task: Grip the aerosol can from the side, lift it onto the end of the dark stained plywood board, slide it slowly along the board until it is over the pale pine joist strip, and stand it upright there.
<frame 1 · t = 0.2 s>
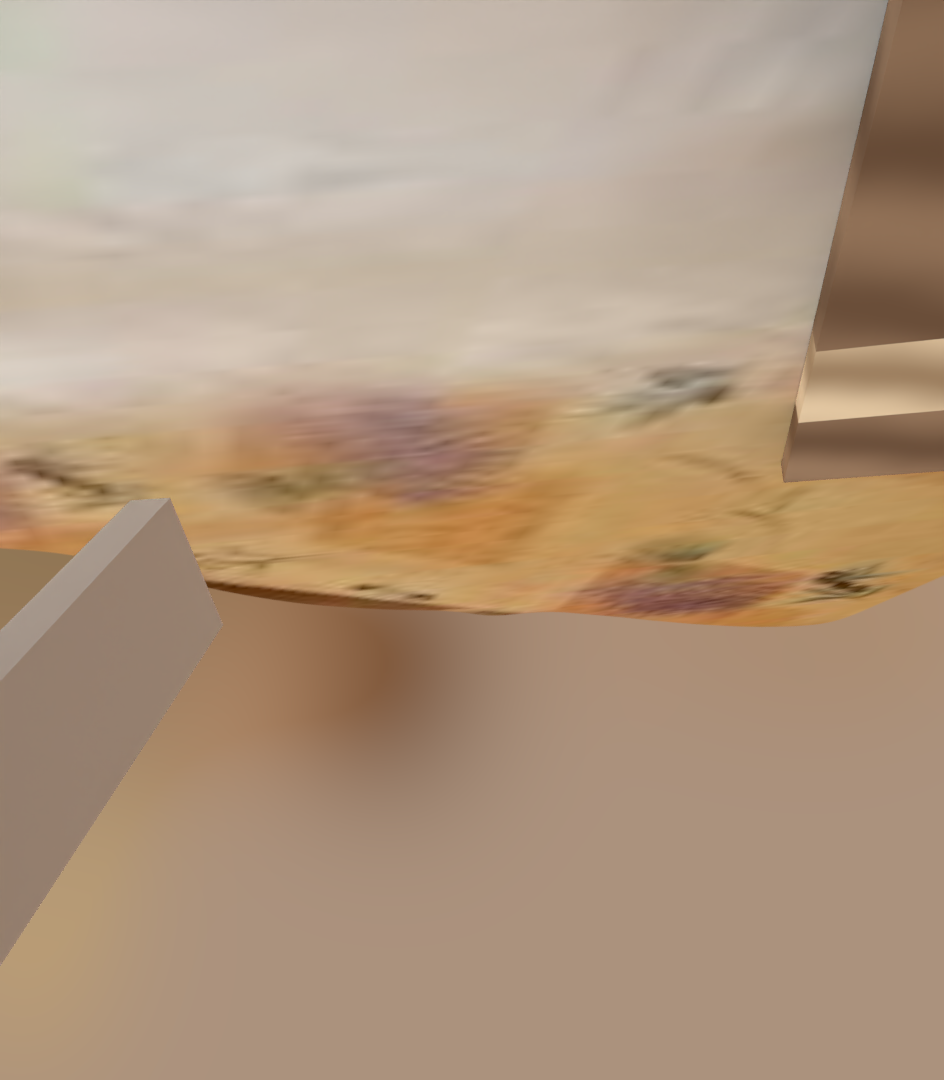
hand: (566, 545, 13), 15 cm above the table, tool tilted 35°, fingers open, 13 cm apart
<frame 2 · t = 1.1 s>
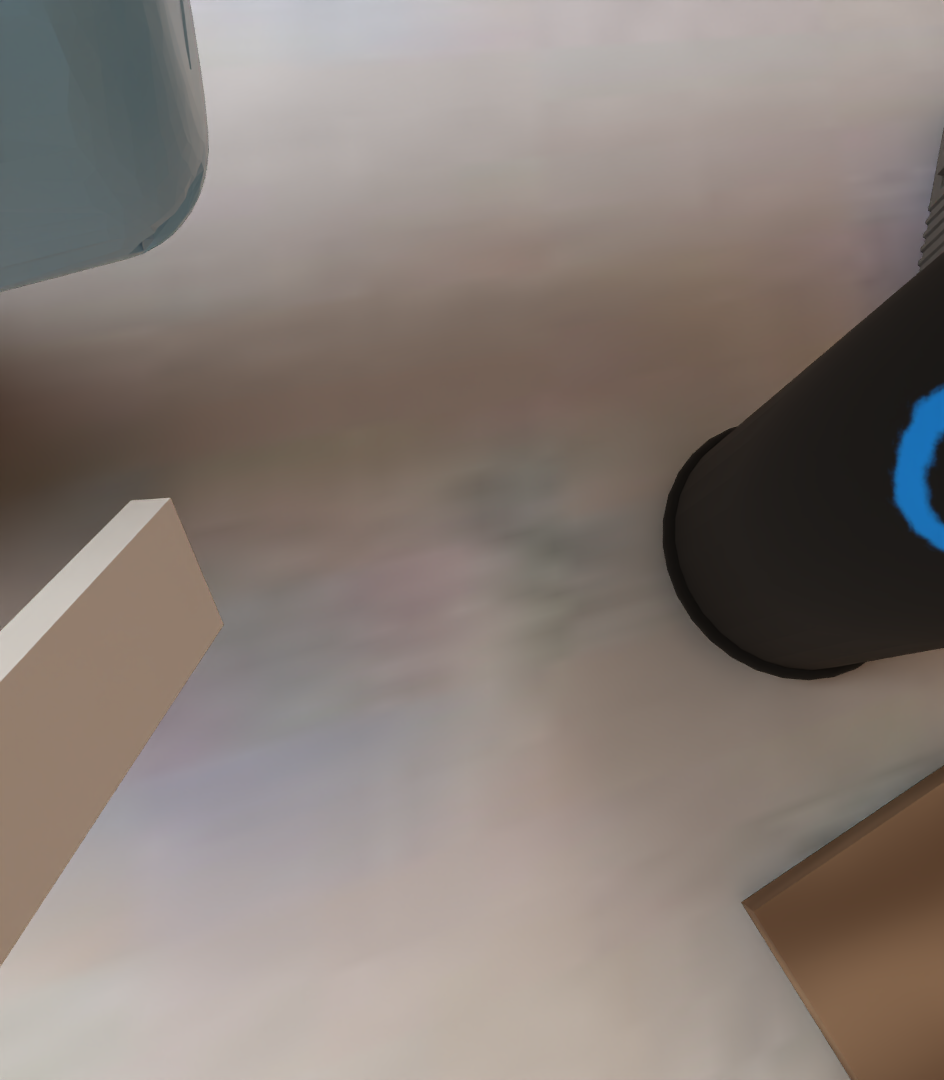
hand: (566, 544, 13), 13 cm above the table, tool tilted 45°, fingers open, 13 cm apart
aerosol can: (783, 548, 26), on the table
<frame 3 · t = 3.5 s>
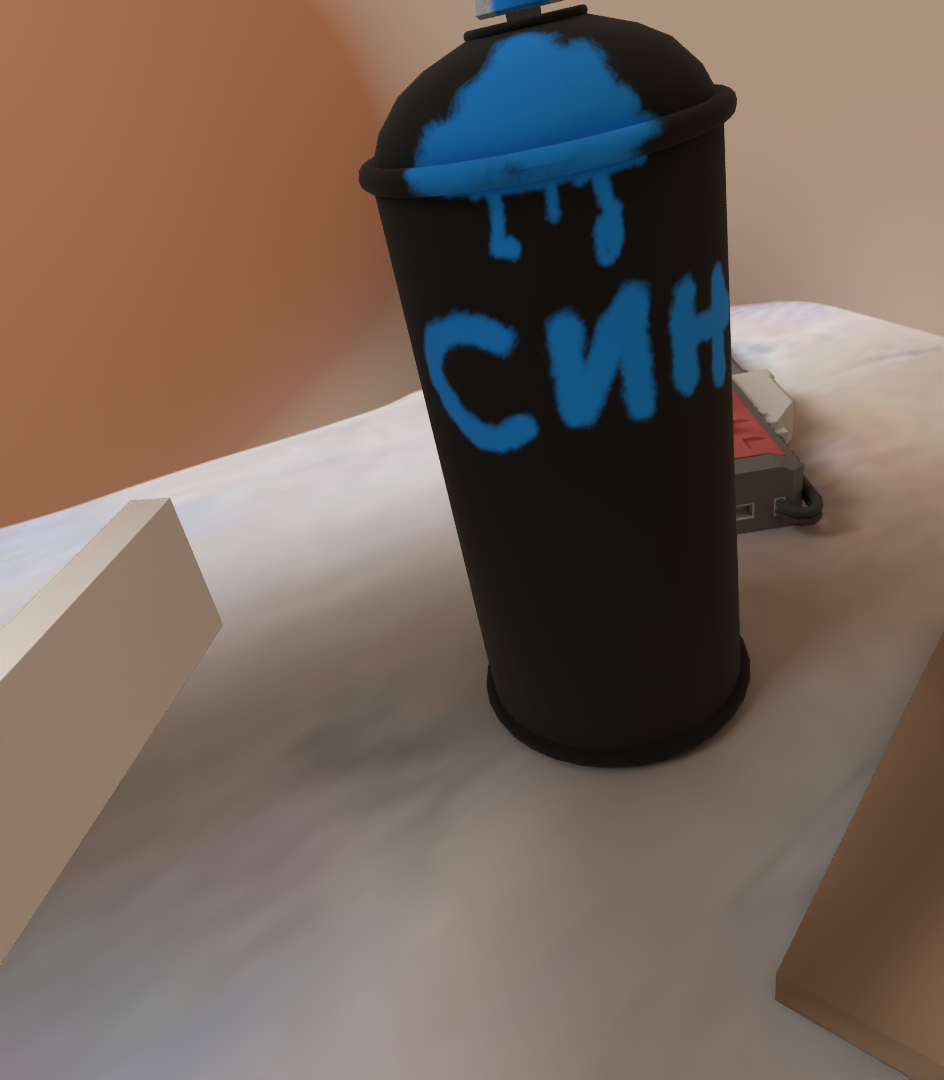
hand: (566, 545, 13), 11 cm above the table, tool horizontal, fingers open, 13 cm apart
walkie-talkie: (690, 447, 39), on the table
aerosol can: (615, 675, 26), on the table
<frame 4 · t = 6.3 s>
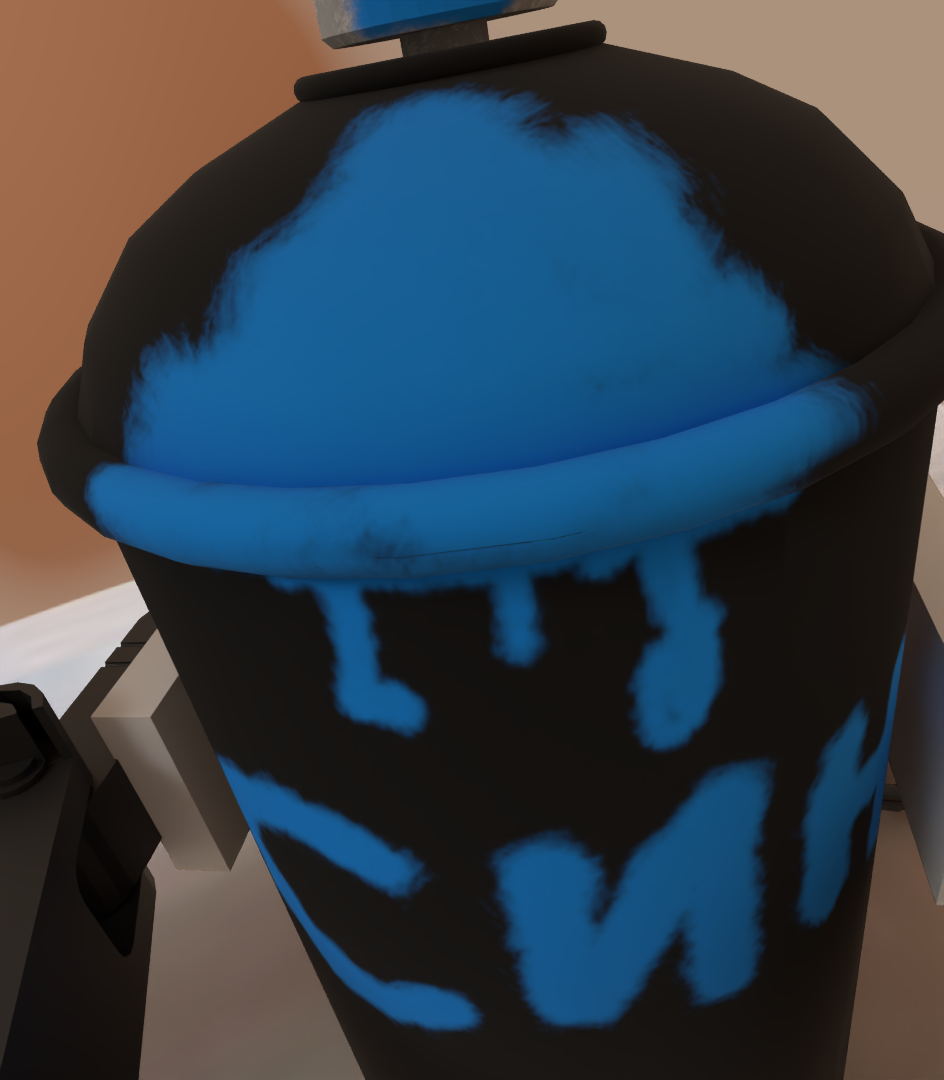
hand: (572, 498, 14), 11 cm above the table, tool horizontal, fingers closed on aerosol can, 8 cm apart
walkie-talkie: (723, 609, 29), on the table
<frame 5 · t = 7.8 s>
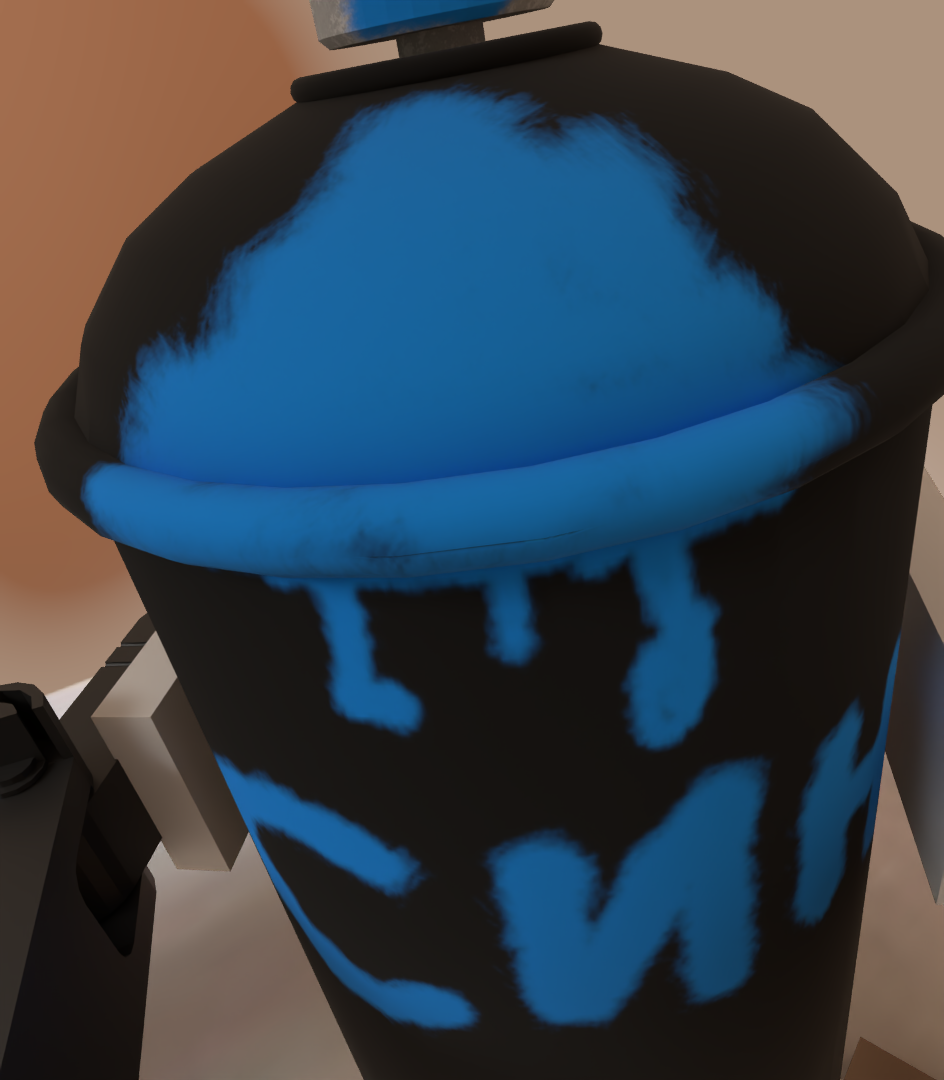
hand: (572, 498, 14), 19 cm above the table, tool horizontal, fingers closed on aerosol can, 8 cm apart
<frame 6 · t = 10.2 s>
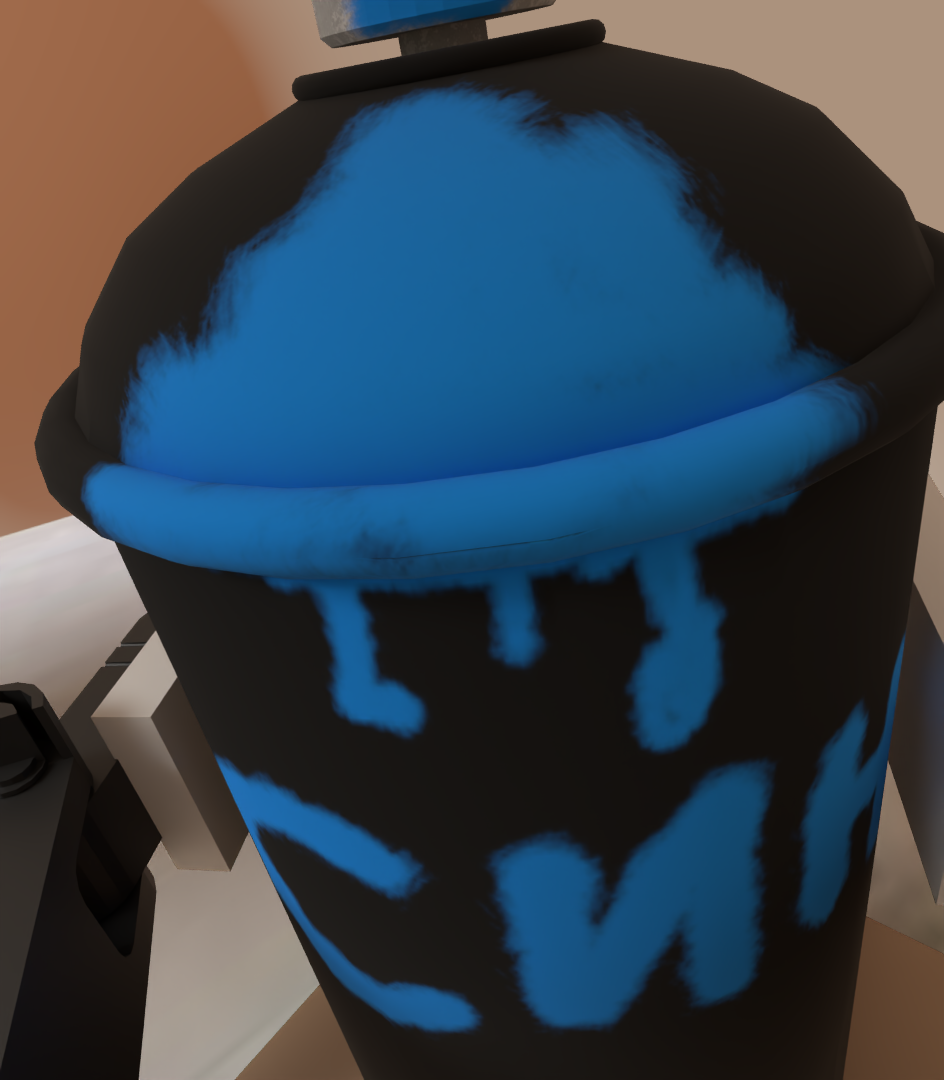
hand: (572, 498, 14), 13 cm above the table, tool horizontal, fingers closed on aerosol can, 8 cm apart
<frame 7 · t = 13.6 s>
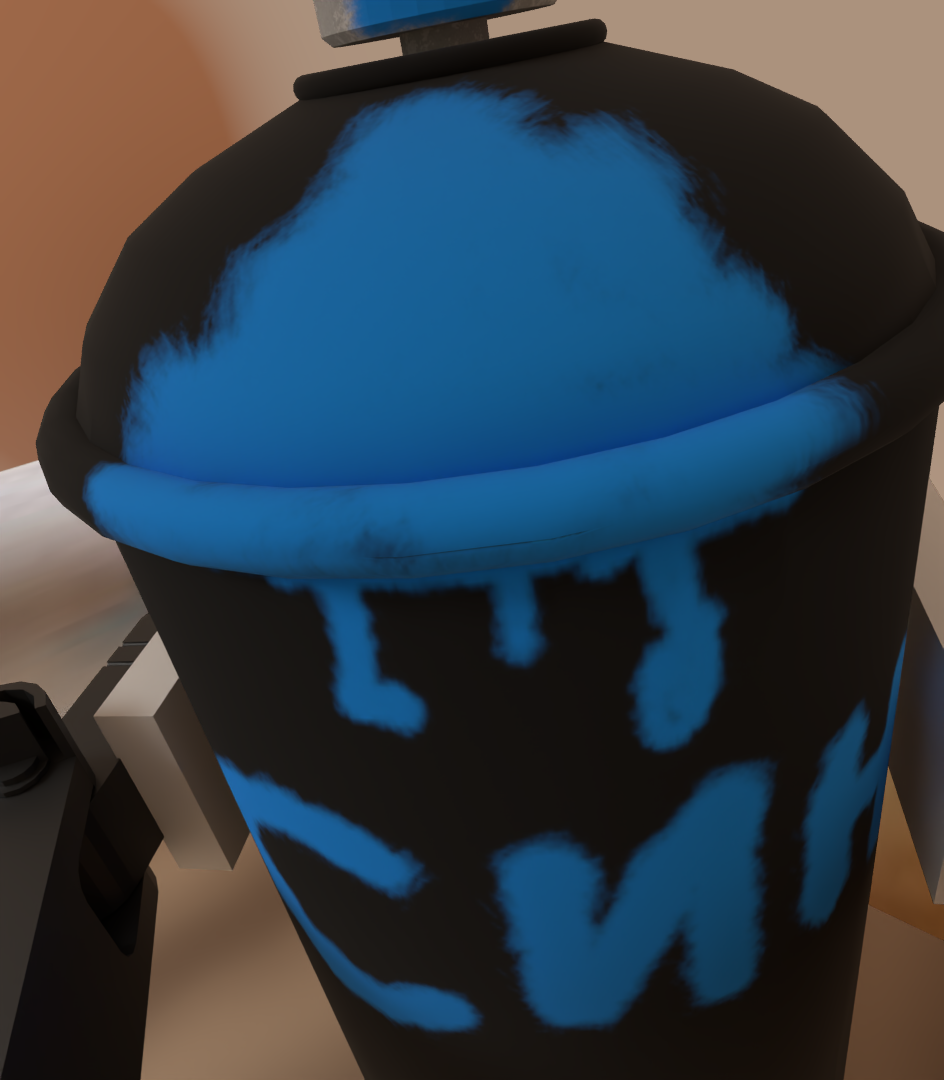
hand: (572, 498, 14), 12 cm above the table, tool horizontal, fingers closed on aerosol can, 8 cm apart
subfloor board: (436, 996, 20), on the table
when the fingers open (12 cm above the table, at t = 13.8 s): aerosol can stays where it is, resting on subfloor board.
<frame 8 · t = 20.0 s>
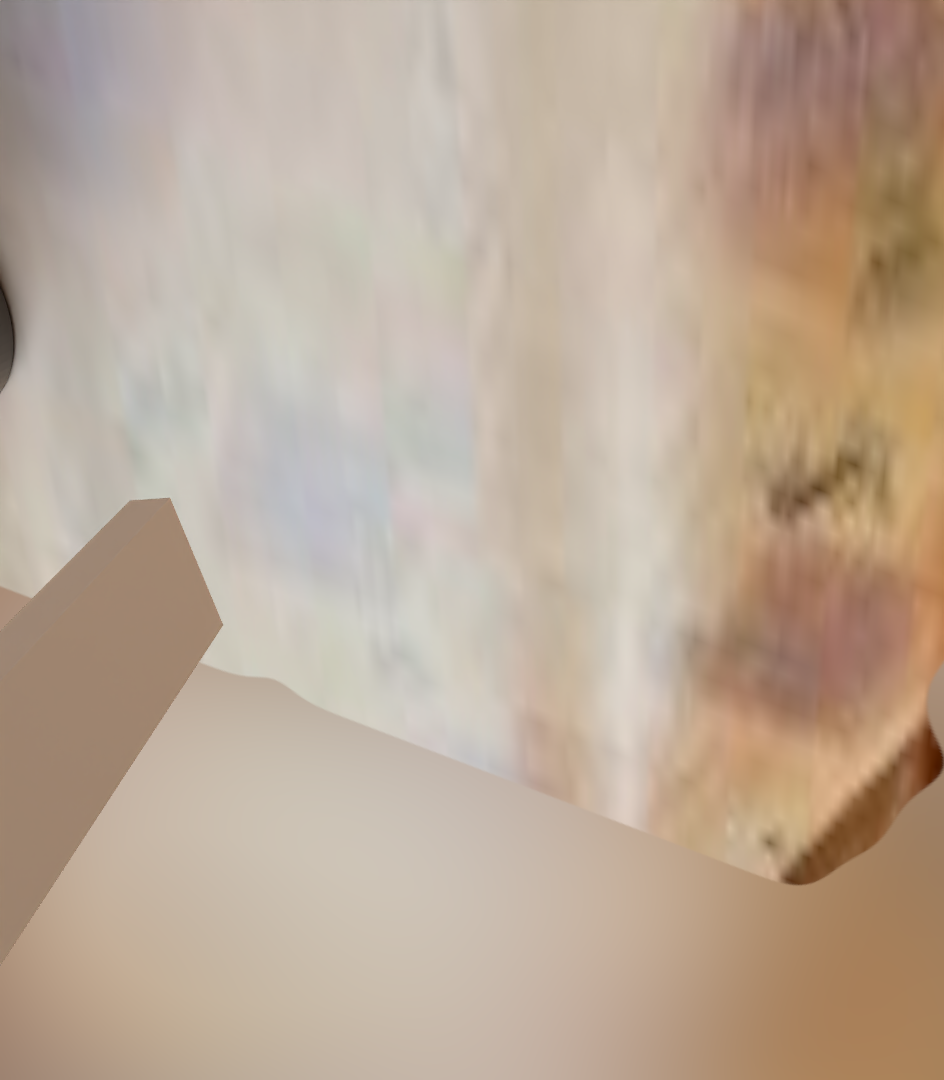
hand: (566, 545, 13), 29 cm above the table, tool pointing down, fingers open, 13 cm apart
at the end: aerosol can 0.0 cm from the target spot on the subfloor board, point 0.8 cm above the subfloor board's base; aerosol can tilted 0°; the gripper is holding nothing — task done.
